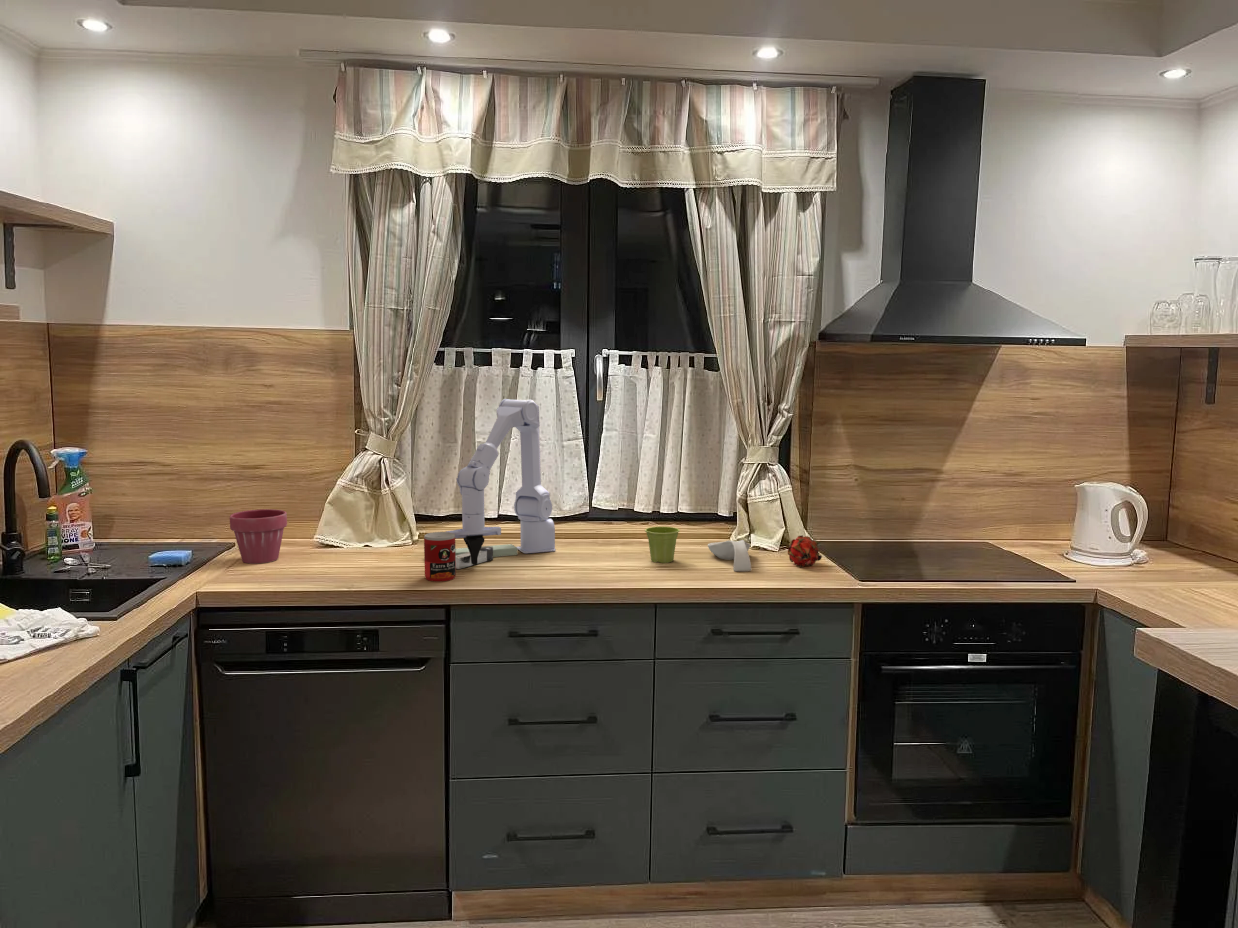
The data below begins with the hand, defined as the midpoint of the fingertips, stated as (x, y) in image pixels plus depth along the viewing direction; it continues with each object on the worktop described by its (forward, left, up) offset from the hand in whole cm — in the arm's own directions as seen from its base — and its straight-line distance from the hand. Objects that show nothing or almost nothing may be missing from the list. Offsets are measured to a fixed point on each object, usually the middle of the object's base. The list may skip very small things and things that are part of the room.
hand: (474, 563), depth 244 cm
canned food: (+11, +8, -1) cm, 13 cm away
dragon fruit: (-82, +31, -1) cm, 88 cm away
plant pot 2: (-49, +12, -1) cm, 51 cm away
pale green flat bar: (-3, -13, -1) cm, 13 cm away
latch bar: (-1, -4, -1) cm, 4 cm away
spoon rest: (-67, +20, -1) cm, 70 cm away
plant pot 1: (+51, -30, -1) cm, 59 cm away
